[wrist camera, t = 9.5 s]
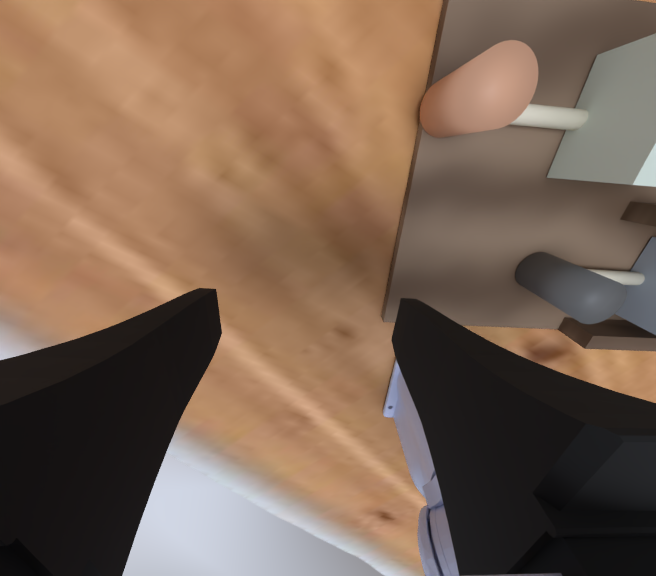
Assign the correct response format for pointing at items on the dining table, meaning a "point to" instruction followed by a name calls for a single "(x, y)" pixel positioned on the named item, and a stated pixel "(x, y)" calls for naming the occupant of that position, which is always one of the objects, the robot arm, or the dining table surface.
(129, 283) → the dining table surface
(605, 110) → the sage cube mallet
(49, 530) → the robot arm
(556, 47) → the shelf
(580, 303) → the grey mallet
